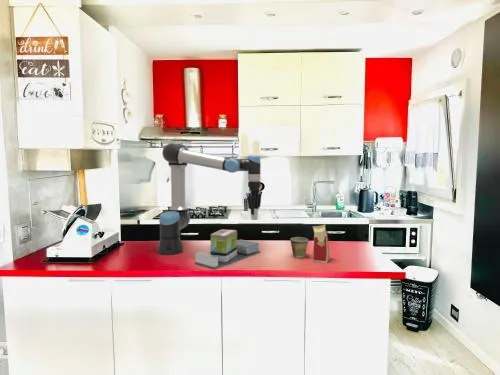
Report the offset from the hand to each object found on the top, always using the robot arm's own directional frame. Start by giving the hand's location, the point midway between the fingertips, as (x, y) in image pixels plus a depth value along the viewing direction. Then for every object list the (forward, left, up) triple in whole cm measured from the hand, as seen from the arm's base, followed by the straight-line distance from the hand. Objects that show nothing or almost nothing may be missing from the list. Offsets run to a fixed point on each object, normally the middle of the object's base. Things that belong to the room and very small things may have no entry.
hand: (254, 219), depth 214 cm
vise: (0, -23, -18) cm, 29 cm away
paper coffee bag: (+42, +5, -19) cm, 46 cm away
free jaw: (0, -10, -17) cm, 20 cm away
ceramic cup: (+29, +5, -19) cm, 35 cm away
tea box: (0, -28, -18) cm, 33 cm away
